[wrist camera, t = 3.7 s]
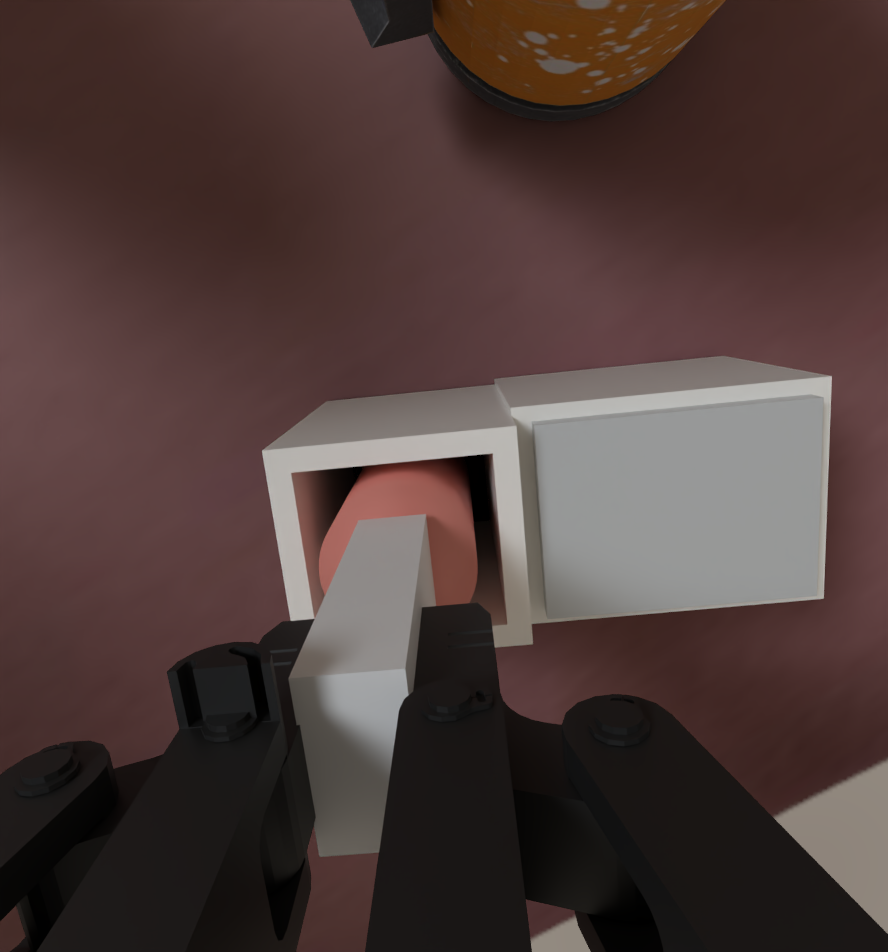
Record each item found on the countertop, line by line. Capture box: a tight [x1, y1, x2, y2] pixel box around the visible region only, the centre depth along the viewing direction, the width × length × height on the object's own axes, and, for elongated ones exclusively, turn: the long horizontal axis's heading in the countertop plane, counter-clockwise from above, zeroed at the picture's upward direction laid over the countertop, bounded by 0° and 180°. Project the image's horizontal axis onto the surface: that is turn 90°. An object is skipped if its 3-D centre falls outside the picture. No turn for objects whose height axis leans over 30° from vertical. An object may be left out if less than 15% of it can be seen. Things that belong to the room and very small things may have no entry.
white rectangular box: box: [262, 356, 832, 647], centre depth 21 cm, size 14×6×8 cm, turn 96°
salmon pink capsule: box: [319, 456, 478, 606], centre depth 19 cm, size 4×4×8 cm
